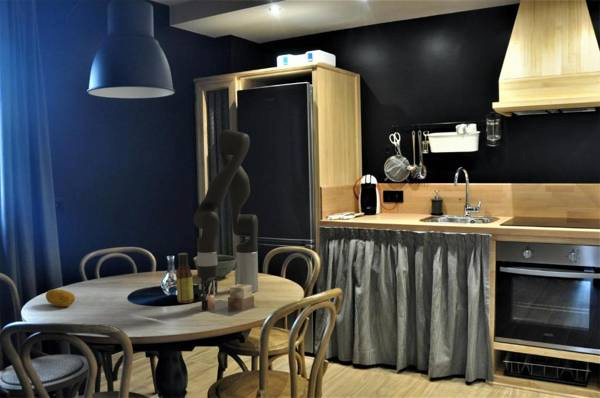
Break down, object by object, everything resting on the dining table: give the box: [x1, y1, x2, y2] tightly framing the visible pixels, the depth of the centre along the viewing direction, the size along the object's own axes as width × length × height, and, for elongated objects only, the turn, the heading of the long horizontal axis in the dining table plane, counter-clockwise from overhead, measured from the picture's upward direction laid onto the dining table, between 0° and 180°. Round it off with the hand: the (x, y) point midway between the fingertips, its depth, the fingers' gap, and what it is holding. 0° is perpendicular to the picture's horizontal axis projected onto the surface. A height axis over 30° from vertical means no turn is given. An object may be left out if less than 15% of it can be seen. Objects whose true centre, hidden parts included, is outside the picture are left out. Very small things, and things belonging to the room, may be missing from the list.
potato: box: [45, 289, 76, 308], centre depth 225 cm, size 8×14×7 cm, turn 53°
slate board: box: [190, 299, 259, 317], centre depth 217 cm, size 20×16×1 cm
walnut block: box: [227, 295, 255, 310], centre depth 218 cm, size 7×7×4 cm
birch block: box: [229, 284, 253, 299], centre depth 217 cm, size 6×6×4 cm
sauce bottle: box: [175, 252, 194, 304], centre depth 227 cm, size 6×6×20 cm
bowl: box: [193, 254, 236, 280], centre depth 277 cm, size 21×21×10 cm
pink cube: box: [205, 294, 216, 310], centre depth 216 cm, size 5×5×5 cm
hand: (208, 307), depth 216 cm, fingers open, 5 cm apart
